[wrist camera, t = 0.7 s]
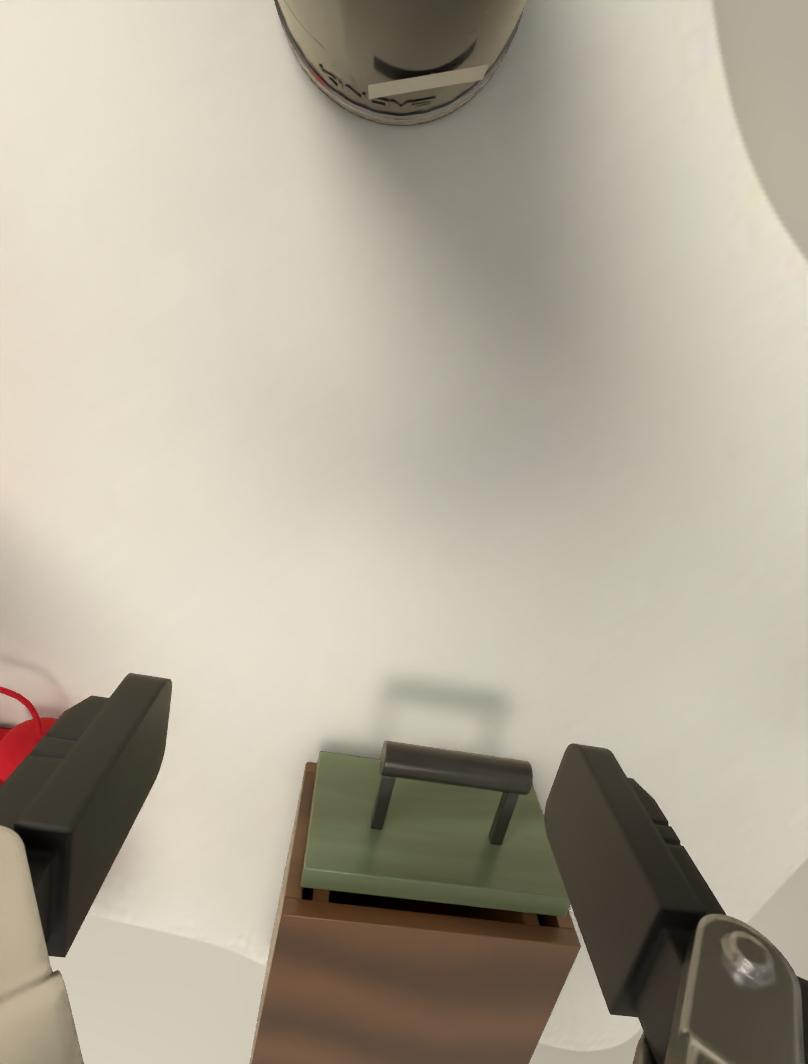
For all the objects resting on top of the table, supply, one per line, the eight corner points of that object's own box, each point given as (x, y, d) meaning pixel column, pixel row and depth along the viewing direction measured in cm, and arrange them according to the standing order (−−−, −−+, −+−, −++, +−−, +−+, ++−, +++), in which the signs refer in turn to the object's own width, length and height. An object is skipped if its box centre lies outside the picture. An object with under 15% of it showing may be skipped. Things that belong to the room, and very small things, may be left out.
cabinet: (306, 761, 32) (281, 914, 24) (529, 792, 34) (581, 946, 25) (269, 948, 37) (237, 1130, 29) (466, 967, 39) (491, 1146, 30)
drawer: (334, 678, 30) (322, 781, 23) (556, 712, 31) (607, 820, 24) (282, 933, 36) (260, 1075, 29) (470, 952, 37) (491, 1093, 30)
